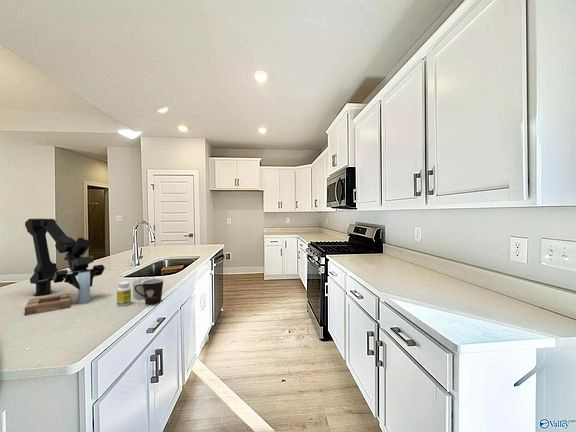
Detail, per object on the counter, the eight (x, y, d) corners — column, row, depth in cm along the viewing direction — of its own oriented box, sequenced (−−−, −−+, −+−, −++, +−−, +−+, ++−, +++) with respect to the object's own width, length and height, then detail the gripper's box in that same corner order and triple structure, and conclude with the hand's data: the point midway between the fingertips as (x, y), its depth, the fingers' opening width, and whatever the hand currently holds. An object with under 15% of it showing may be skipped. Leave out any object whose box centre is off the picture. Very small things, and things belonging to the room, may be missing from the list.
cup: (135, 300, 122) (135, 282, 122) (130, 294, 132) (130, 277, 132) (159, 296, 129) (159, 279, 129) (152, 290, 139) (152, 274, 139)
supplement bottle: (124, 306, 114) (124, 284, 114) (113, 305, 115) (113, 284, 115) (133, 302, 119) (133, 281, 119) (123, 301, 121) (123, 281, 120)
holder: (29, 306, 115) (29, 299, 115) (70, 299, 124) (70, 293, 124) (24, 315, 104) (24, 308, 104) (69, 307, 113) (69, 300, 113)
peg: (78, 301, 120) (78, 272, 120) (89, 299, 123) (89, 270, 123) (78, 304, 117) (78, 273, 117) (90, 302, 120) (90, 272, 120)
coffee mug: (167, 300, 122) (167, 279, 122) (152, 306, 114) (152, 284, 114) (148, 298, 126) (148, 277, 126) (133, 303, 118) (133, 282, 118)
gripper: (55, 253, 114) (64, 281, 108) (103, 248, 130) (113, 272, 124) (49, 268, 118) (57, 296, 113) (96, 262, 134) (106, 286, 128)
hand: (85, 287), depth 119 cm, fingers closed on peg, 4 cm apart
